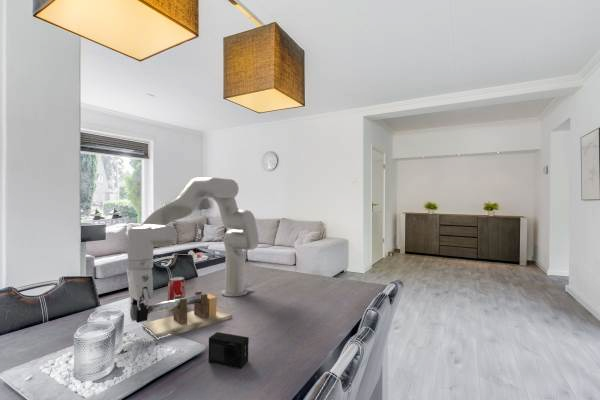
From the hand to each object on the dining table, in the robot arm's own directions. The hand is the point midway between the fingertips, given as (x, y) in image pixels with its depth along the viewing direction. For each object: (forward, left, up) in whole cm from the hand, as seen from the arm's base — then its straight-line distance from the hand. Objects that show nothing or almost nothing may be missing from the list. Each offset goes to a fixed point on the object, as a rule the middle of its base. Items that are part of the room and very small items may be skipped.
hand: (139, 318), depth 99 cm
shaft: (-10, 0, 0) cm, 10 cm away
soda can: (-21, -20, -6) cm, 30 cm away
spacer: (-25, 0, -1) cm, 25 cm away
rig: (-18, 0, -6) cm, 19 cm away
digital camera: (-12, +34, -6) cm, 37 cm away
